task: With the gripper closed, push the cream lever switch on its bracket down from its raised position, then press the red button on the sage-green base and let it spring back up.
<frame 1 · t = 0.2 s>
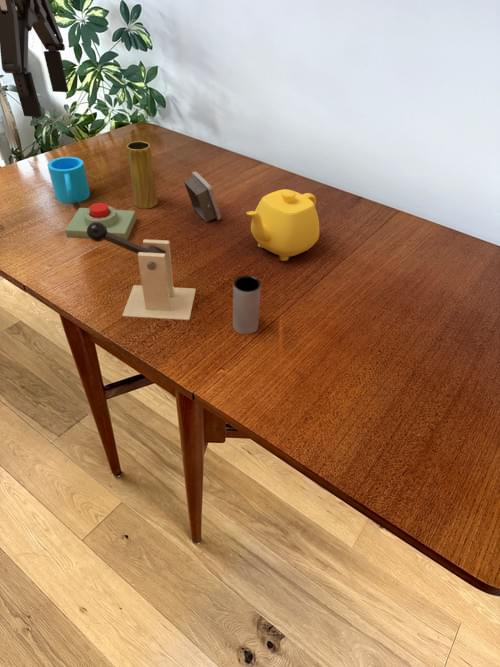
hand: (47, 103, 82), 28 cm above the table, tool pointing down, fingers open, 13 cm apart
button base: (103, 228, 105), on the table
lever: (125, 244, 77), point 13 cm above the table, hinge at 25.0°
button: (99, 210, 102), point 4 cm above the table, slide at 0.1 cm
bracket: (160, 306, 86), on the table
gray hollow cylinder: (245, 330, 83), on the table
teapot: (278, 249, 102), on the table
vase: (145, 203, 115), on the table
mug: (73, 199, 115), on the table
electrical switch: (204, 215, 112), on the table
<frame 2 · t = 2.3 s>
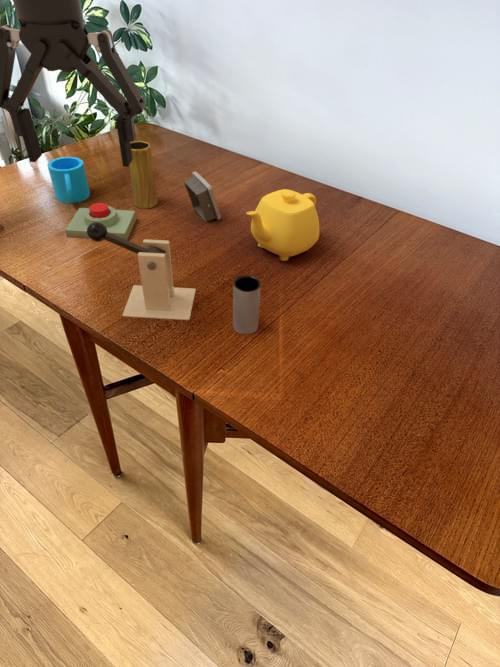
hand: (82, 160, 68), 27 cm above the table, tool pointing down, fingers open, 13 cm apart
nothing on the table moved.
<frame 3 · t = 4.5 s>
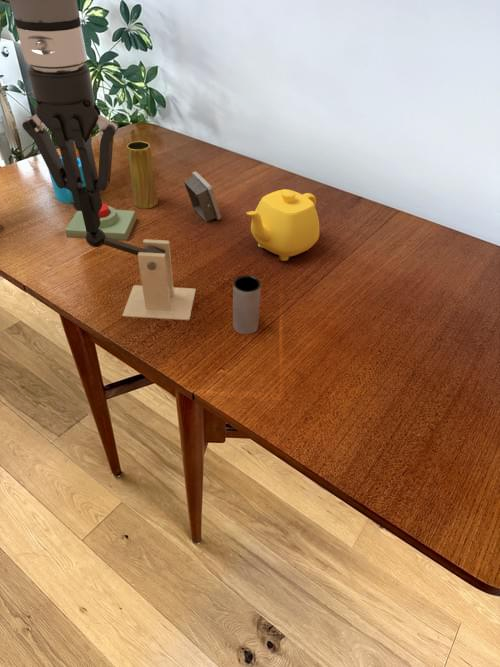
hand: (93, 227, 75), 16 cm above the table, tool pointing down, fingers closed
lever: (125, 247, 78), point 13 cm above the table, hinge at 18.0°
everything else where it was.
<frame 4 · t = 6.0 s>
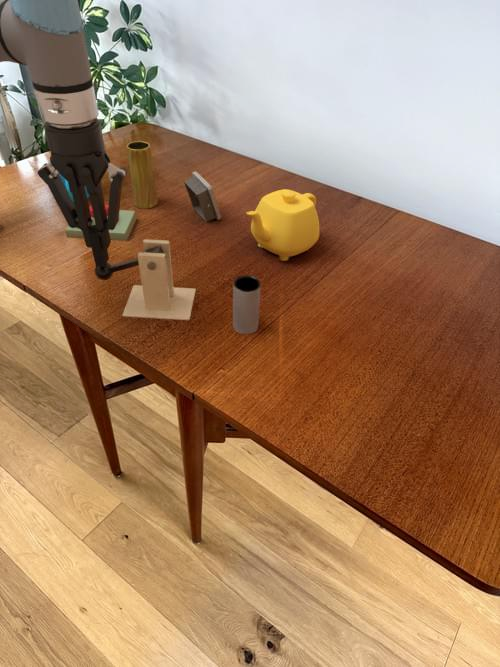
hand: (102, 262, 80), 9 cm above the table, tool pointing down, fingers closed
lever: (128, 264, 80), point 9 cm above the table, hinge at -21.2°, touching gripper
everything else where it was.
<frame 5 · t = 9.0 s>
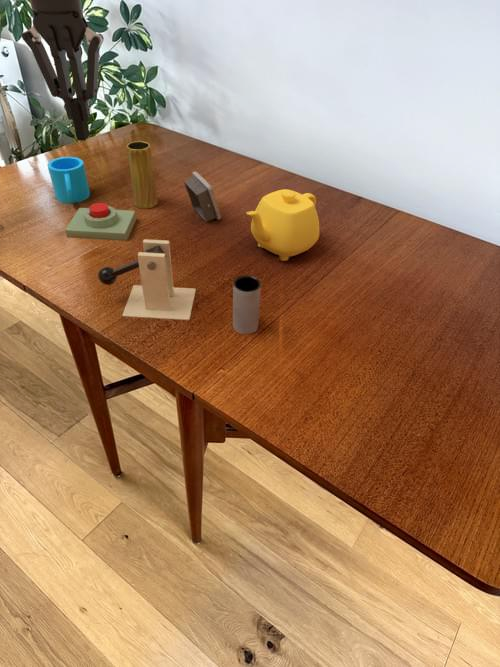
hand: (83, 137, 86), 22 cm above the table, tool pointing down, fingers closed
lever: (130, 266, 80), point 9 cm above the table, hinge at -27.5°
everything else where it was.
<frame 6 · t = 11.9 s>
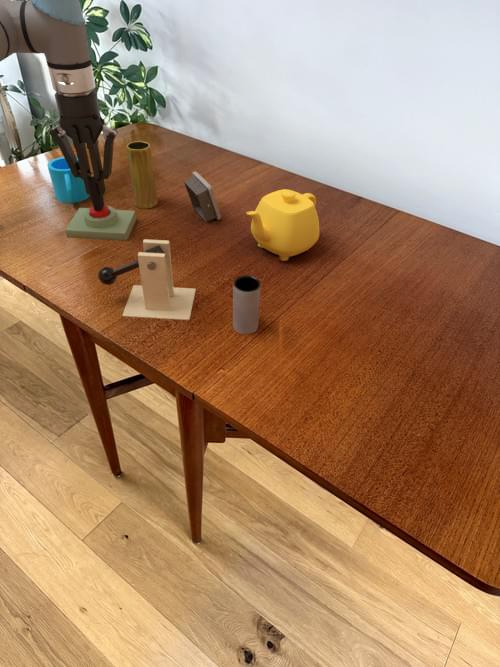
hand: (99, 207, 102), 5 cm above the table, tool pointing down, fingers closed
button: (99, 212, 102), point 4 cm above the table, slide at -0.2 cm, touching gripper
everything else where it was.
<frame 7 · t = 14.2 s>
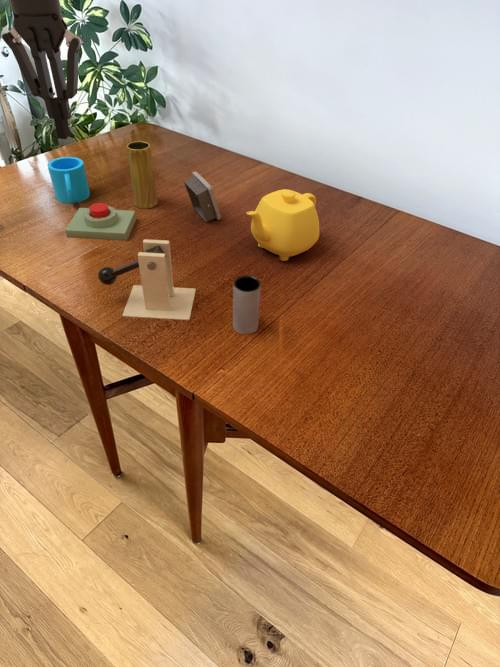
hand: (64, 136, 89), 21 cm above the table, tool pointing down, fingers closed
button: (99, 210, 102), point 4 cm above the table, slide at 0.1 cm
everything else where it was.
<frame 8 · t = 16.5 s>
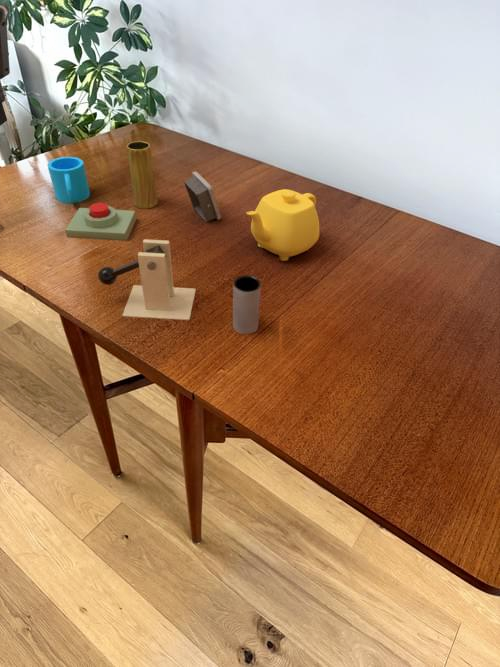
nothing on the table moved.
at the end: lever at -28° (first picture: +25°); button pushed in 1.0 cm at the most during the clip, back to where it started at the end; button slide at 0.1 cm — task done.
